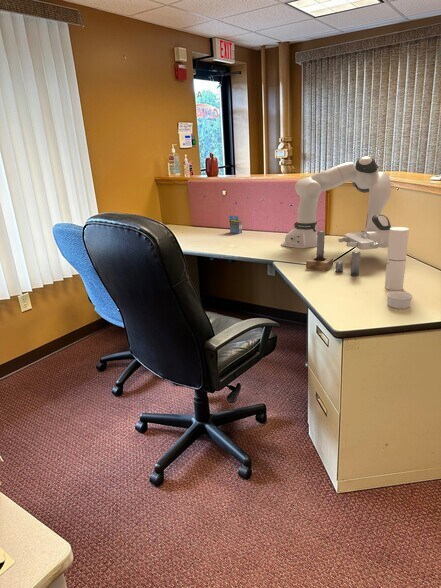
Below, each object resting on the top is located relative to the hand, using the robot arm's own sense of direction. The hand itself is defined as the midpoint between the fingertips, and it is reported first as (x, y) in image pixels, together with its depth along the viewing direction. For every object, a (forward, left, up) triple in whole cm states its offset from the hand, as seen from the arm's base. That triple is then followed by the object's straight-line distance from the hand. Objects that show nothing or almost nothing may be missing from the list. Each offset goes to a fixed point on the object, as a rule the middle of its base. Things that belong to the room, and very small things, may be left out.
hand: (342, 242), depth 206 cm
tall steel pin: (-9, -7, -12) cm, 16 cm away
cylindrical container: (+29, -26, -12) cm, 40 cm away
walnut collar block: (-9, -8, -12) cm, 16 cm away
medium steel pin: (+10, -15, -12) cm, 21 cm away
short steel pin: (+2, -12, -12) cm, 16 cm away
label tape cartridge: (-91, +54, -12) cm, 107 cm away
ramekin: (+34, -46, -12) cm, 58 cm away
